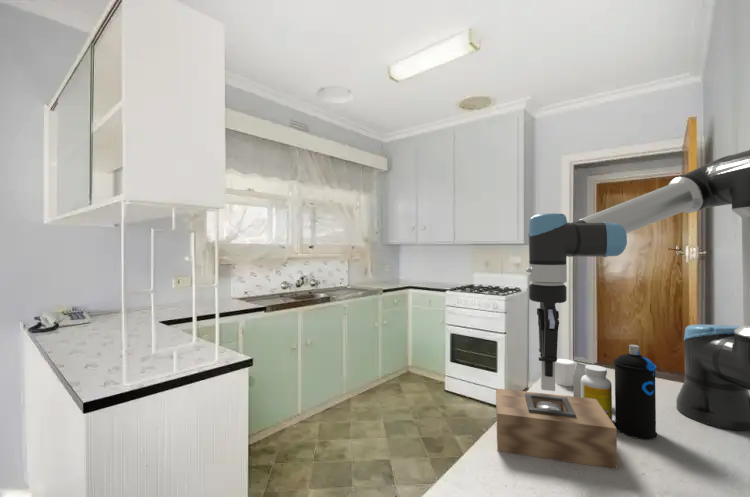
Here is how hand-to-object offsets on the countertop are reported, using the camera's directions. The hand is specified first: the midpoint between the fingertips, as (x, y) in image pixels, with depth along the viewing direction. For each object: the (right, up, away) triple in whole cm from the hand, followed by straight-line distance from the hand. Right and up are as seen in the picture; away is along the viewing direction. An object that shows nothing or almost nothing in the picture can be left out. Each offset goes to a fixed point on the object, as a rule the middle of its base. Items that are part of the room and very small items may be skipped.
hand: (547, 389), depth 79 cm
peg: (0, -12, 0) cm, 12 cm away
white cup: (+22, -12, +34) cm, 42 cm away
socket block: (0, -12, 0) cm, 12 cm away
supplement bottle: (+17, -12, +10) cm, 23 cm away
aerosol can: (+23, -12, +4) cm, 26 cm away
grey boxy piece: (+22, -12, +20) cm, 32 cm away
